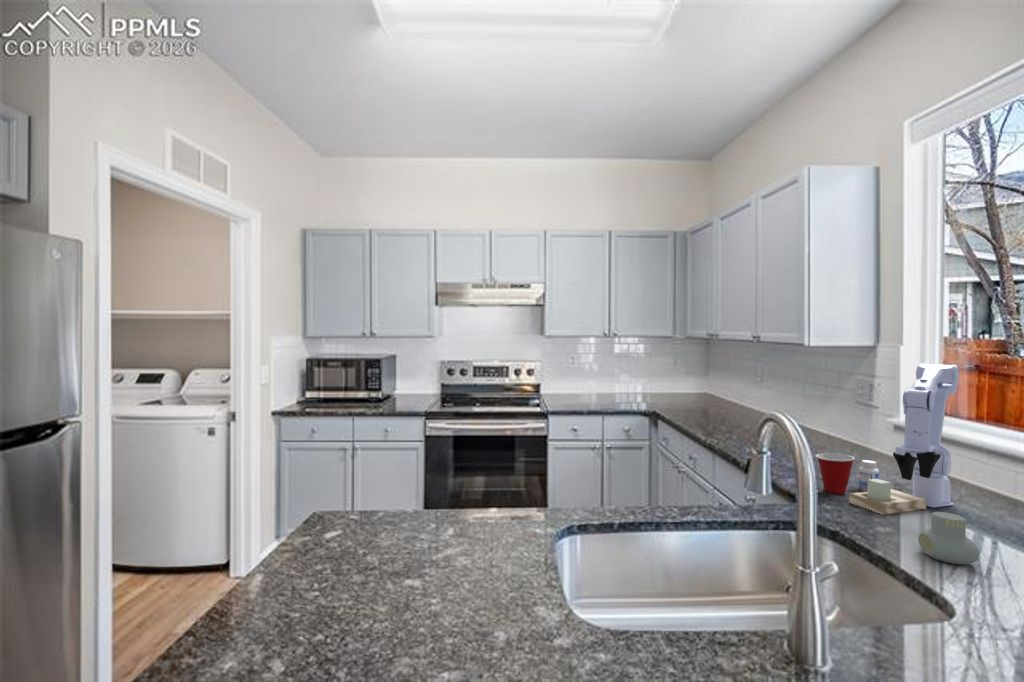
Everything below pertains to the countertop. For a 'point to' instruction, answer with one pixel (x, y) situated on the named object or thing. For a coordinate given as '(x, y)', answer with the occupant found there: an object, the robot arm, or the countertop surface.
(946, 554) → the air freshener
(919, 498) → the socket rail
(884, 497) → the square peg
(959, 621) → the countertop surface
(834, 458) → the plastic cup
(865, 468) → the pill bottle
